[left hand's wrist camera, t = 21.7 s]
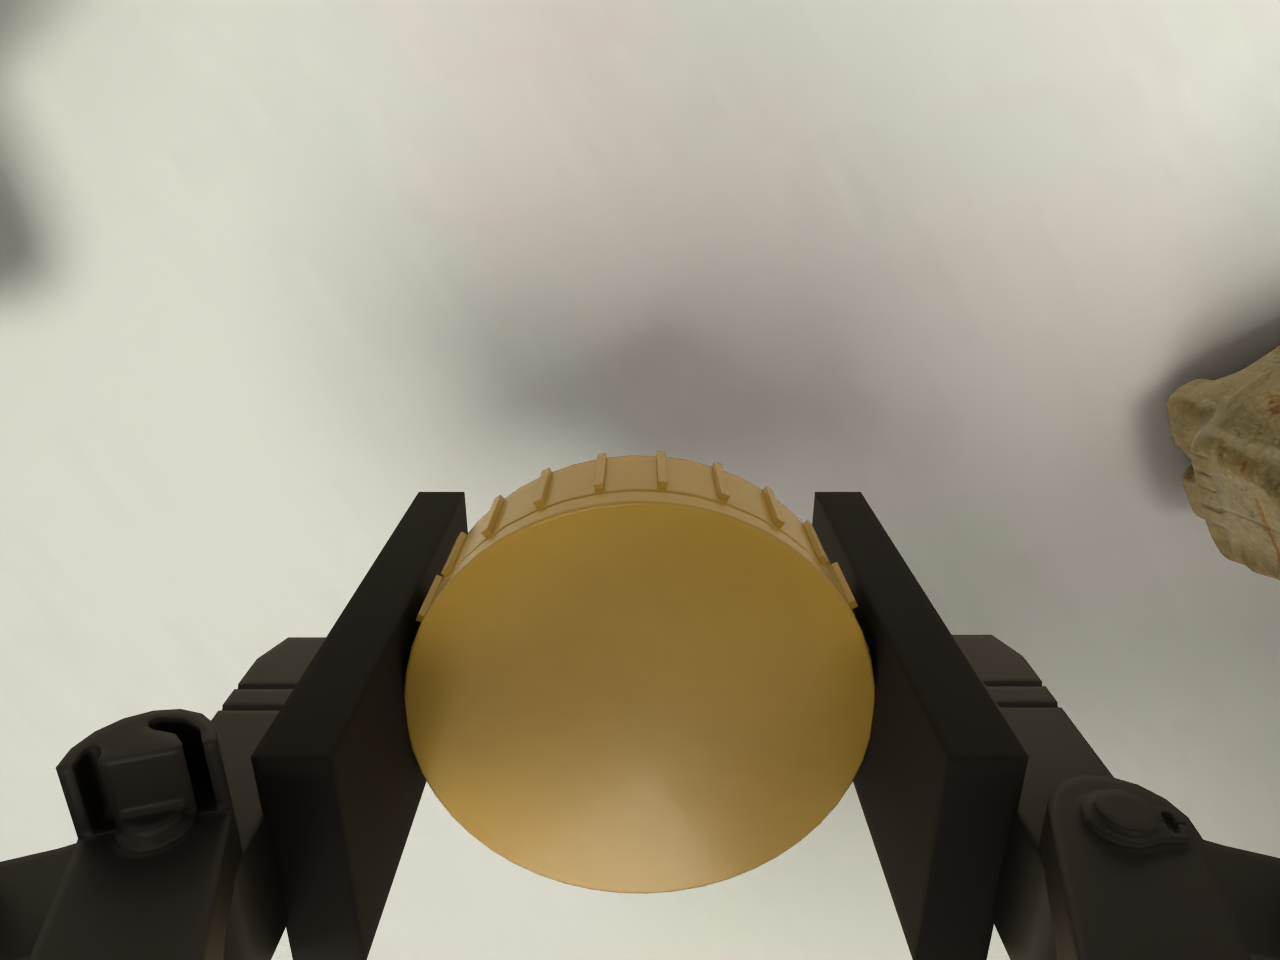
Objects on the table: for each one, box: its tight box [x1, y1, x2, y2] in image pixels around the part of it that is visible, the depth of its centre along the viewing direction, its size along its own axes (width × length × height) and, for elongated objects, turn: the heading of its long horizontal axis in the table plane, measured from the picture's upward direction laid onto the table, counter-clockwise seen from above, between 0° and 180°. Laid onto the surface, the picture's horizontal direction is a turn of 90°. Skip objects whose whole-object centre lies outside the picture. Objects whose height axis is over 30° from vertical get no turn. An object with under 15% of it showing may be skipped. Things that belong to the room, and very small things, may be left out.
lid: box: [404, 451, 875, 893], centre depth 11 cm, size 6×6×2 cm
